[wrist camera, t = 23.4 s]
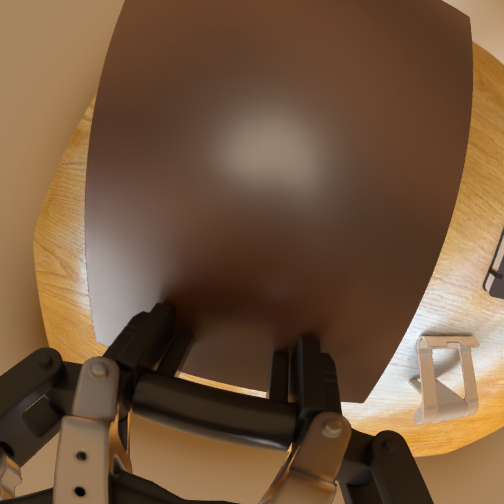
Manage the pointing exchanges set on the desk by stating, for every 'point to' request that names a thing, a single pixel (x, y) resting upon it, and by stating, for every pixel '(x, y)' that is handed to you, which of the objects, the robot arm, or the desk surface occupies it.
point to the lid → (272, 192)
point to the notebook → (496, 273)
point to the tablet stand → (437, 394)
